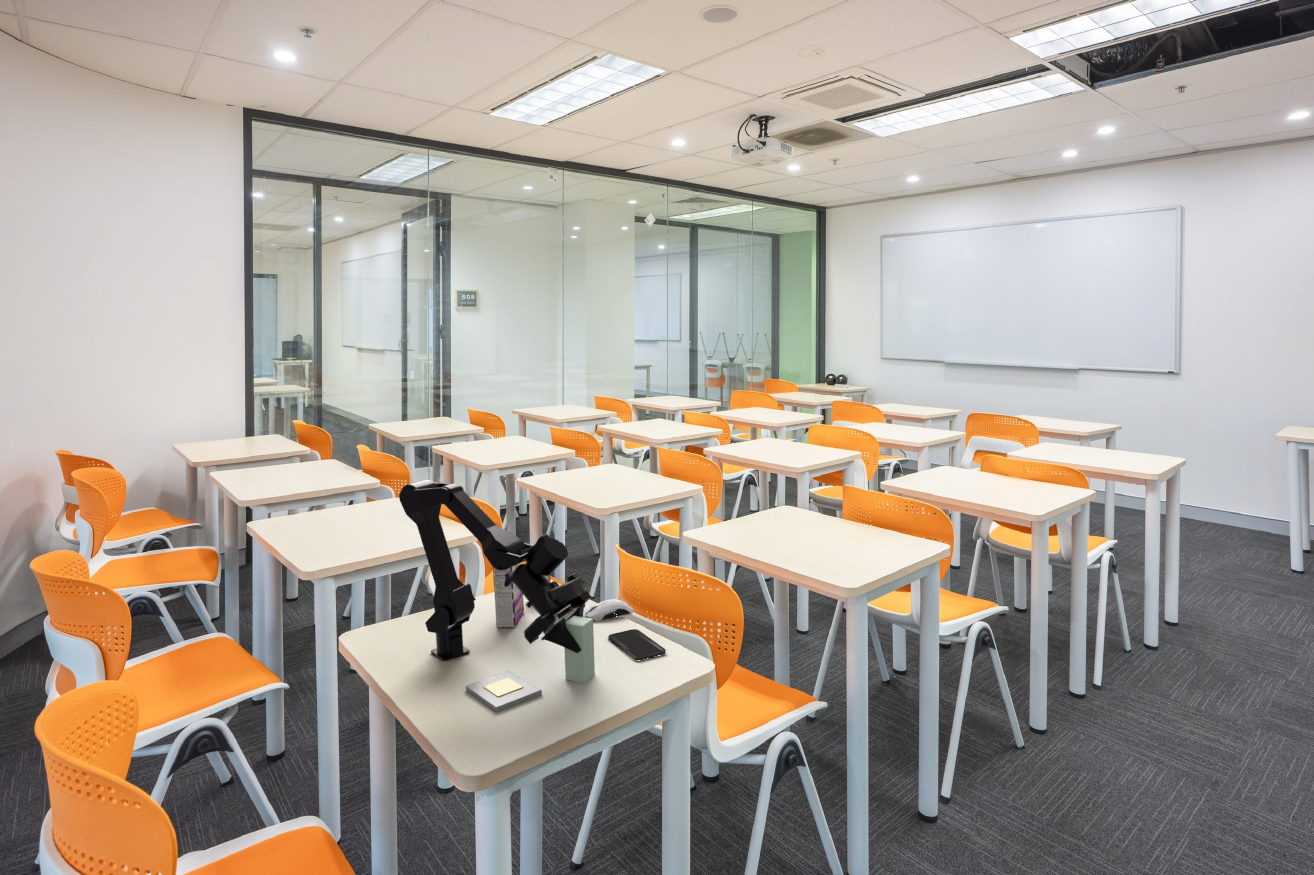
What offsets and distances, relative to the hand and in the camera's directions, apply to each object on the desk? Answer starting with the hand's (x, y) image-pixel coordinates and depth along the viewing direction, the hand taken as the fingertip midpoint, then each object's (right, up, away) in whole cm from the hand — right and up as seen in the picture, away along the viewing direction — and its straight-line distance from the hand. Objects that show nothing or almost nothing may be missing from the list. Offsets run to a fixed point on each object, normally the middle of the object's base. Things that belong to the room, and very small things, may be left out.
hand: (585, 647), depth 149 cm
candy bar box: (-22, -3, +33) cm, 40 cm away
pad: (-16, -8, -5) cm, 18 cm away
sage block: (-1, -6, +1) cm, 7 cm away
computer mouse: (0, -3, +35) cm, 35 cm away
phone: (+10, -5, +16) cm, 20 cm away
